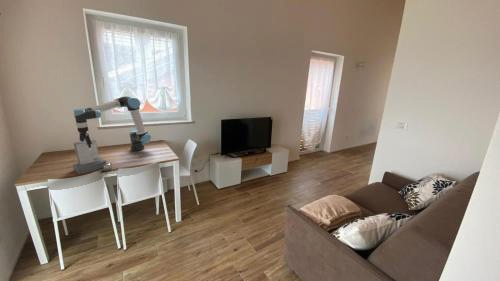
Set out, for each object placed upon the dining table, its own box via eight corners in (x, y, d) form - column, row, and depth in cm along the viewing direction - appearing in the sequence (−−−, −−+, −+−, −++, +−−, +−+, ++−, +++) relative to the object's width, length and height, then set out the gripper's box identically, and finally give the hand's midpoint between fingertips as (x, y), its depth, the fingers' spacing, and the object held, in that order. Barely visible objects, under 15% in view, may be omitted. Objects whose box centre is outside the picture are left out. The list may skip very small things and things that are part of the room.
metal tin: (110, 167, 201) (109, 162, 199) (113, 168, 197) (113, 164, 196) (102, 169, 195) (101, 164, 194) (105, 171, 192) (104, 166, 190)
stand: (100, 162, 209) (99, 157, 207) (107, 166, 201) (106, 160, 200) (73, 170, 191) (72, 164, 190) (79, 174, 184) (78, 168, 182)
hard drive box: (97, 158, 204) (93, 139, 198) (100, 160, 199) (96, 141, 193) (77, 163, 192) (73, 142, 187) (79, 165, 188) (75, 144, 182)
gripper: (72, 125, 189) (77, 147, 195) (82, 129, 175) (87, 153, 182) (82, 124, 195) (86, 145, 201) (93, 128, 181) (97, 151, 187)
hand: (87, 149), depth 191 cm, fingers open, 13 cm apart
